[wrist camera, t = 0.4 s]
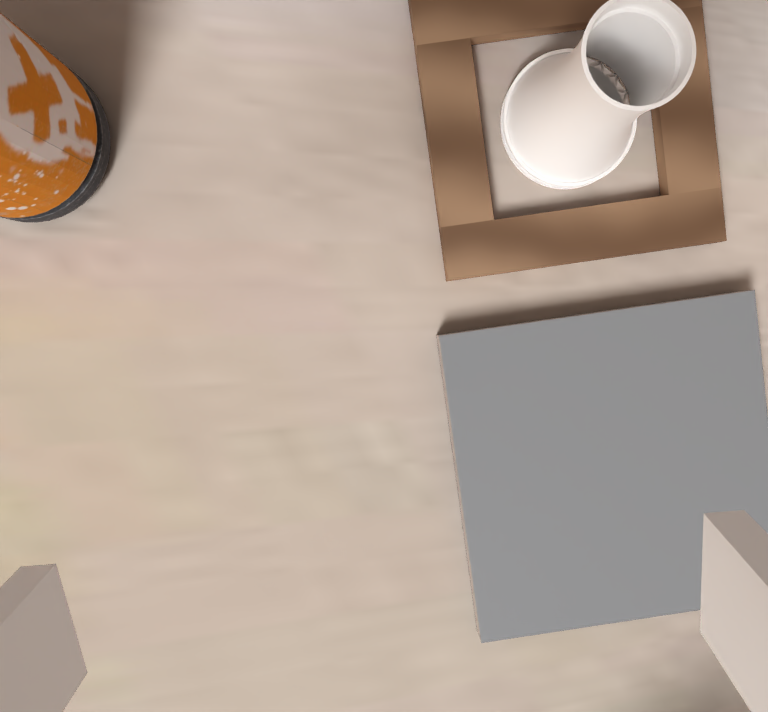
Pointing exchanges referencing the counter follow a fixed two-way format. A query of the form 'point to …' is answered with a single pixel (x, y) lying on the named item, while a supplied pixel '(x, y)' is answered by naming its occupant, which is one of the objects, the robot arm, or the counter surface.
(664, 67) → the vase
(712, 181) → the holder frame
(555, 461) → the slate board
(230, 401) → the counter surface
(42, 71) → the canister
